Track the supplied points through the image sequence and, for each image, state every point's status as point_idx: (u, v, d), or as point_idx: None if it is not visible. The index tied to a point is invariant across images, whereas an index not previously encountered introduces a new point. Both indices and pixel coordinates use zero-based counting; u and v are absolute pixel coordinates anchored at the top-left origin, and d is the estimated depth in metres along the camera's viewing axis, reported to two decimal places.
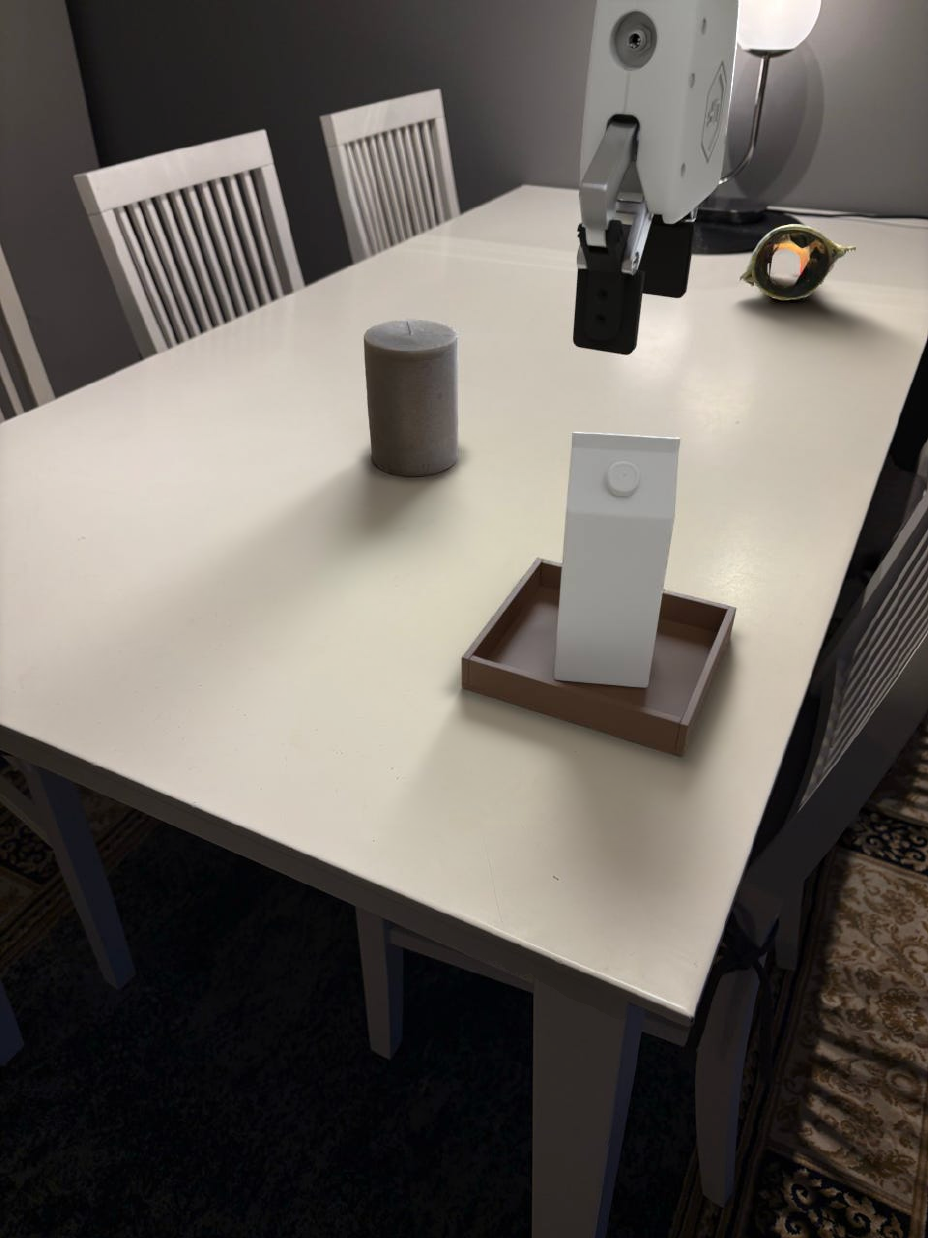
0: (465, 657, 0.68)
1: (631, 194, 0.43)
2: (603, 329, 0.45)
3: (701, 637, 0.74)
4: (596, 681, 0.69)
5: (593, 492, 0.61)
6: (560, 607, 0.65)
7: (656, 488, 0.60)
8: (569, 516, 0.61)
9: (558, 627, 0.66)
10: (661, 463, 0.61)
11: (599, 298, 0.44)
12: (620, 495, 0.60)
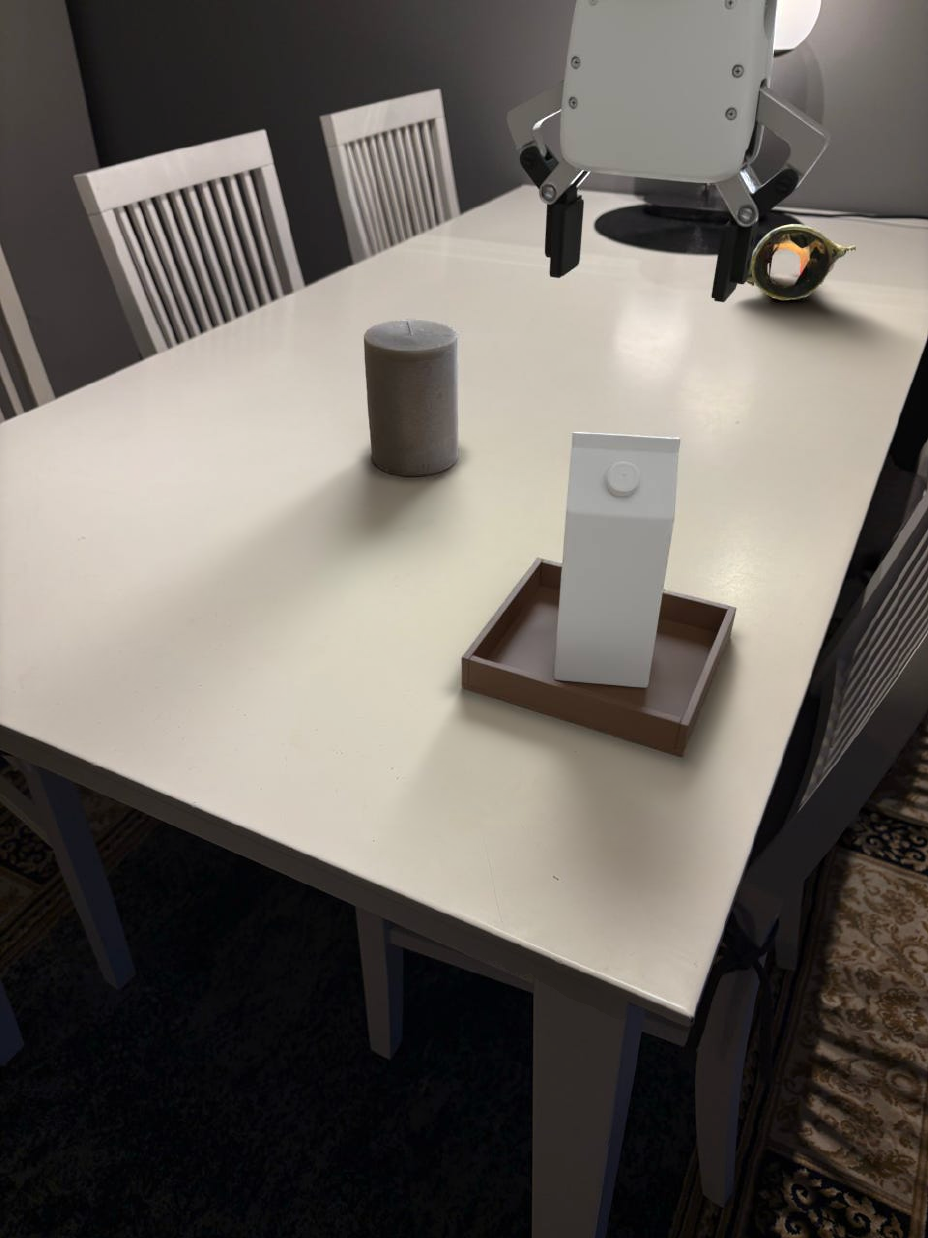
0: (465, 657, 0.68)
1: None
2: (747, 271, 0.50)
3: (701, 637, 0.74)
4: (596, 681, 0.69)
5: (593, 492, 0.61)
6: (560, 607, 0.65)
7: (656, 488, 0.60)
8: (569, 516, 0.61)
9: (558, 627, 0.66)
10: (661, 463, 0.61)
11: None
12: (620, 495, 0.60)
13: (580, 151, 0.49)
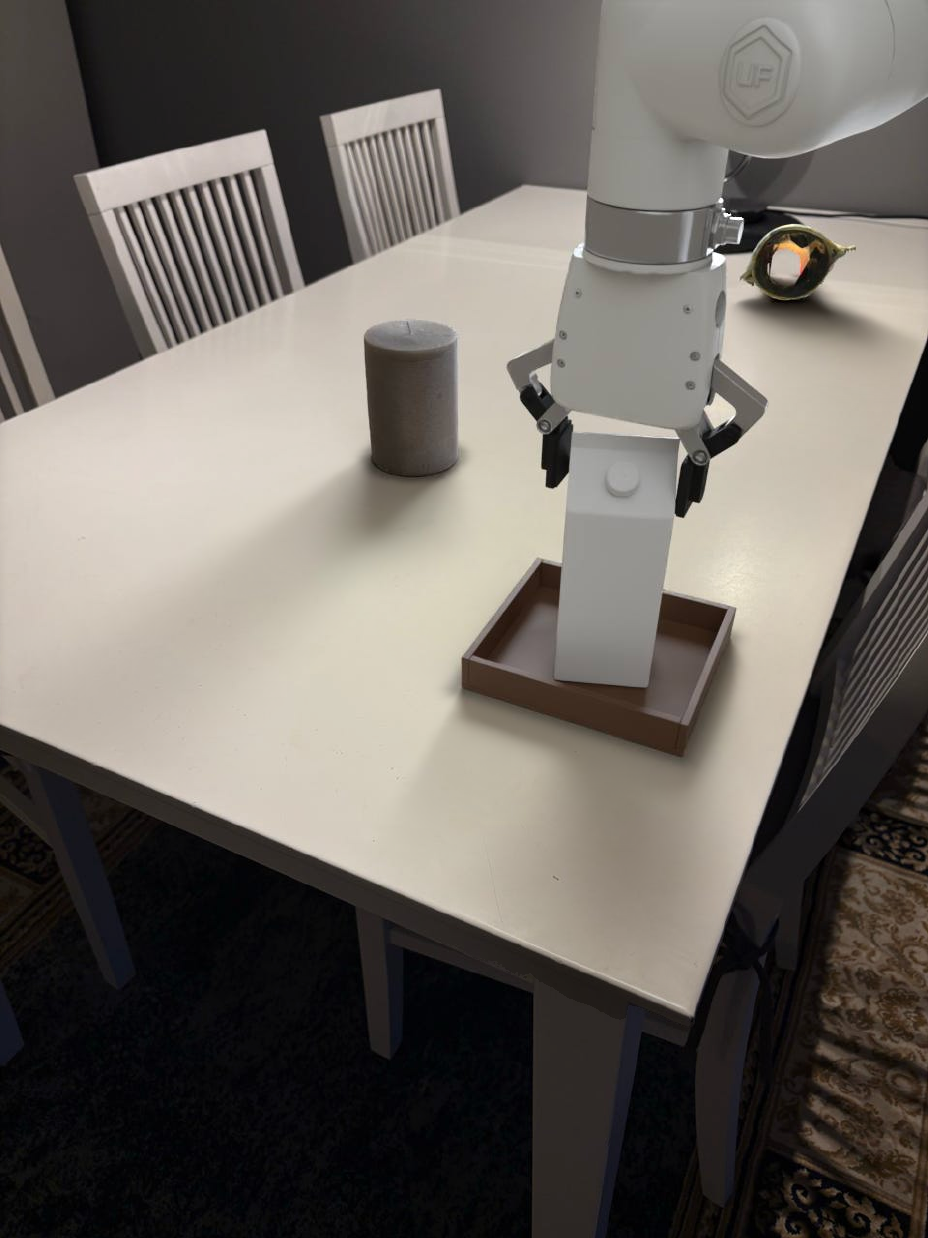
0: (465, 657, 0.68)
1: None
2: (702, 492, 0.60)
3: (701, 637, 0.74)
4: (596, 681, 0.69)
5: (593, 492, 0.61)
6: (560, 607, 0.65)
7: (656, 487, 0.60)
8: (569, 516, 0.61)
9: (558, 627, 0.66)
10: (661, 463, 0.61)
11: (704, 475, 0.59)
12: (620, 495, 0.60)
13: (567, 398, 0.59)
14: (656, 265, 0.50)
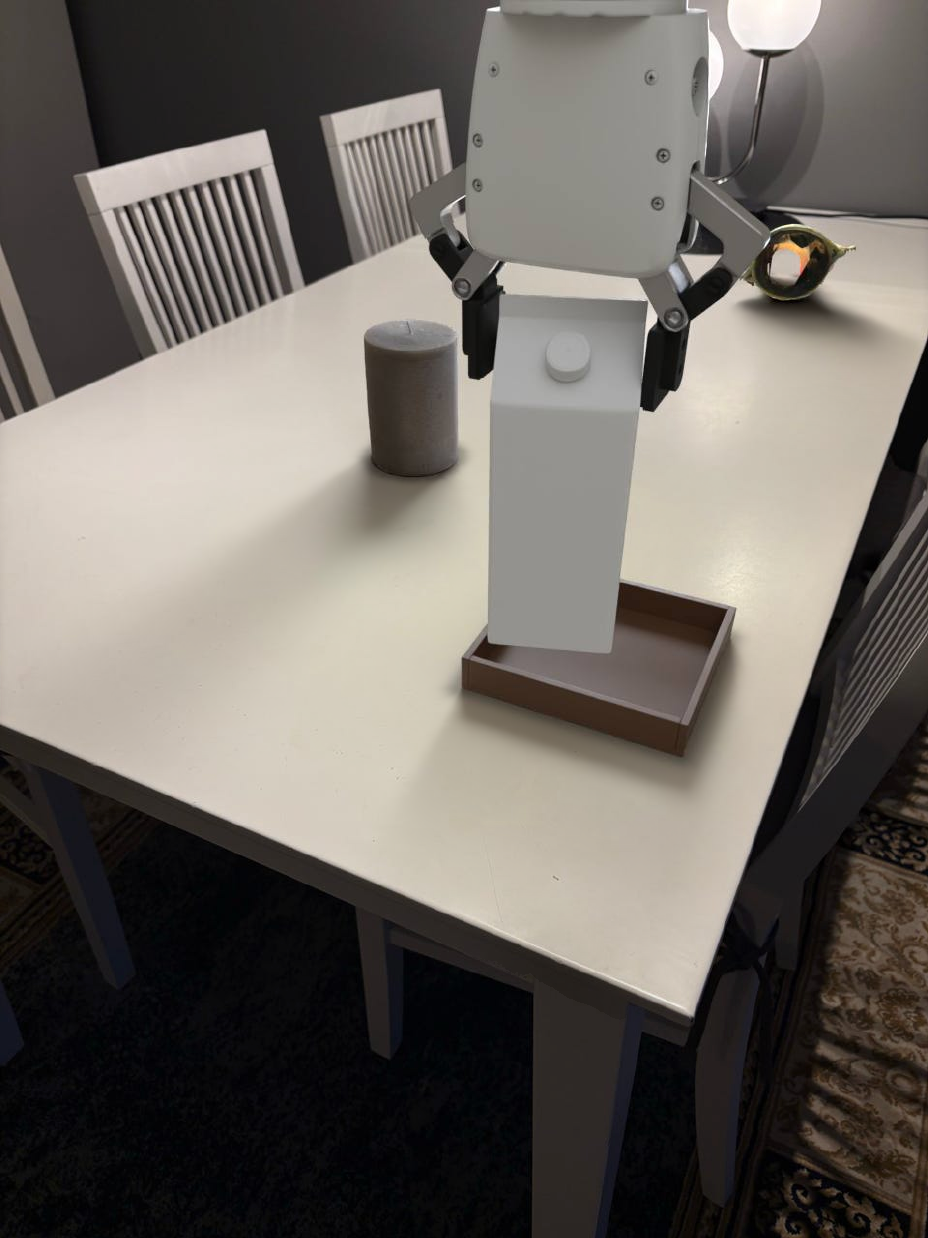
0: (465, 657, 0.68)
1: None
2: (680, 377, 0.44)
3: (701, 637, 0.74)
4: (543, 645, 0.52)
5: (528, 376, 0.44)
6: (490, 542, 0.48)
7: (615, 369, 0.43)
8: (495, 410, 0.44)
9: (489, 571, 0.50)
10: (622, 337, 0.44)
11: (681, 350, 0.43)
12: (564, 379, 0.43)
13: (489, 239, 0.42)
14: (601, 0, 0.33)
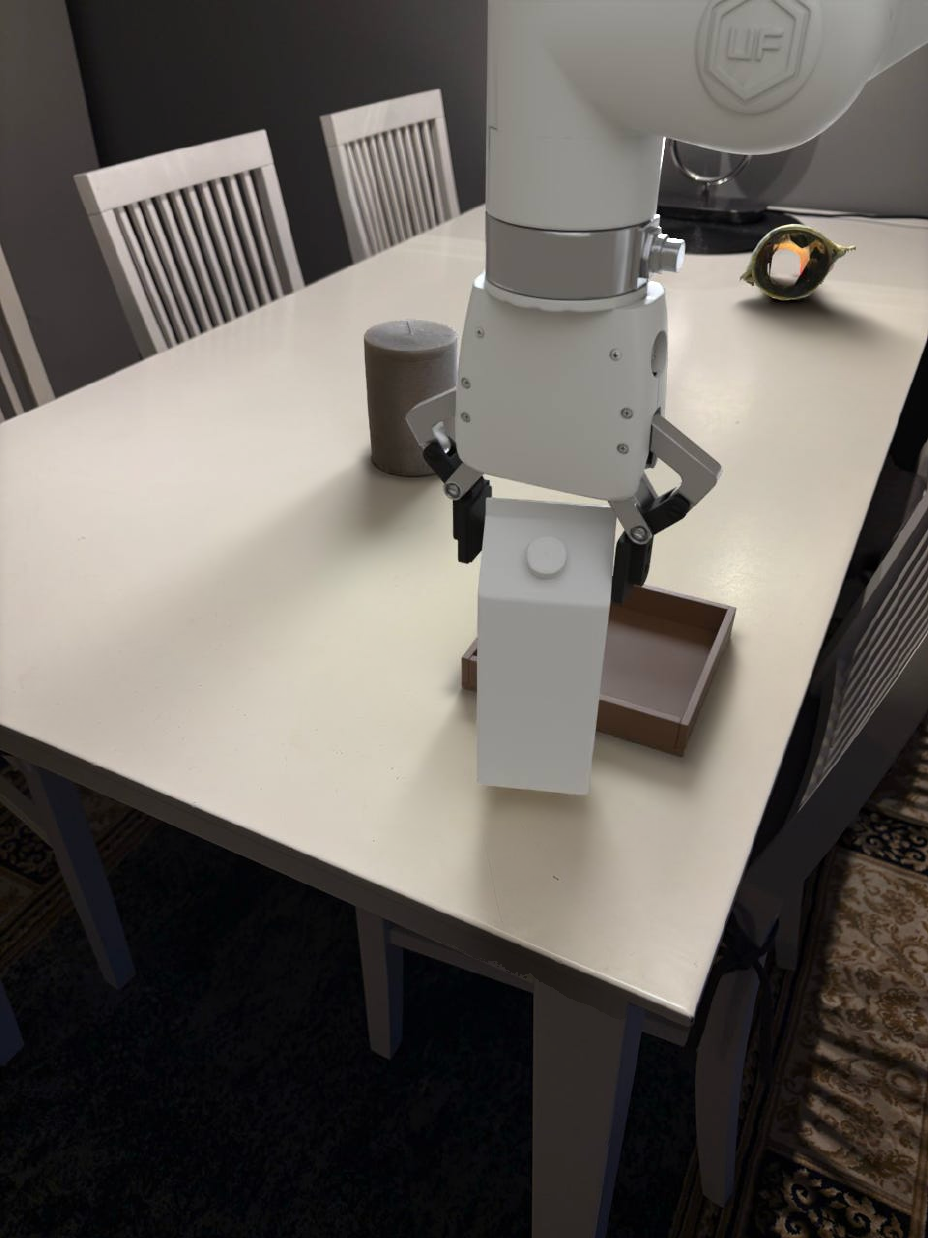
0: (465, 657, 0.68)
1: None
2: (646, 573, 0.49)
3: (701, 637, 0.74)
4: (526, 787, 0.57)
5: (511, 572, 0.49)
6: (478, 704, 0.54)
7: (588, 567, 0.49)
8: (482, 601, 0.49)
9: (477, 727, 0.55)
10: (595, 537, 0.49)
11: (646, 553, 0.48)
12: (543, 577, 0.49)
13: (476, 459, 0.47)
14: (571, 301, 0.39)
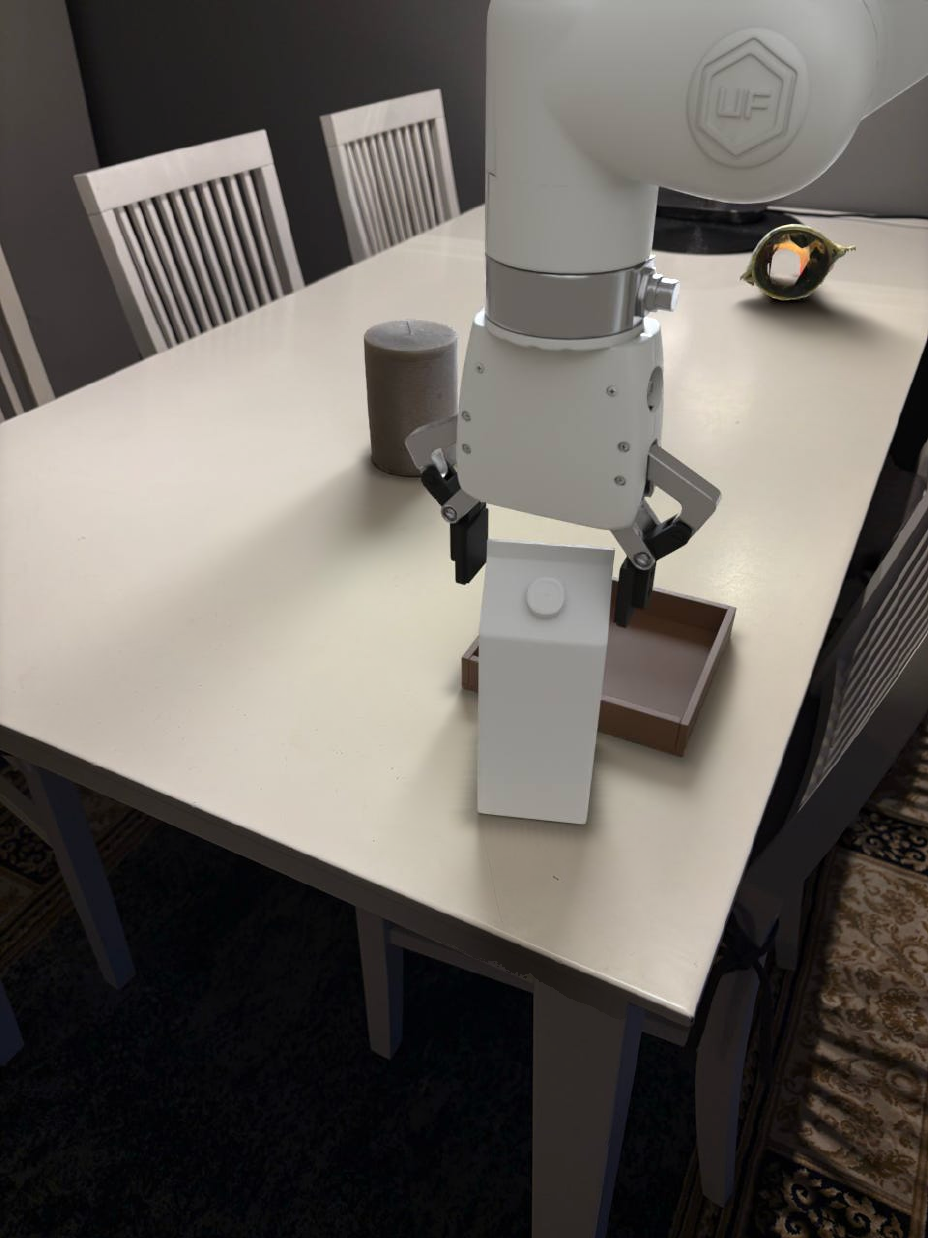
0: (465, 657, 0.68)
1: None
2: (649, 596, 0.50)
3: (701, 637, 0.74)
4: (526, 816, 0.59)
5: (511, 612, 0.51)
6: (479, 737, 0.55)
7: (586, 607, 0.50)
8: (483, 640, 0.51)
9: (478, 758, 0.57)
10: (593, 578, 0.51)
11: (649, 578, 0.49)
12: (542, 617, 0.50)
13: (476, 489, 0.48)
14: (568, 340, 0.40)
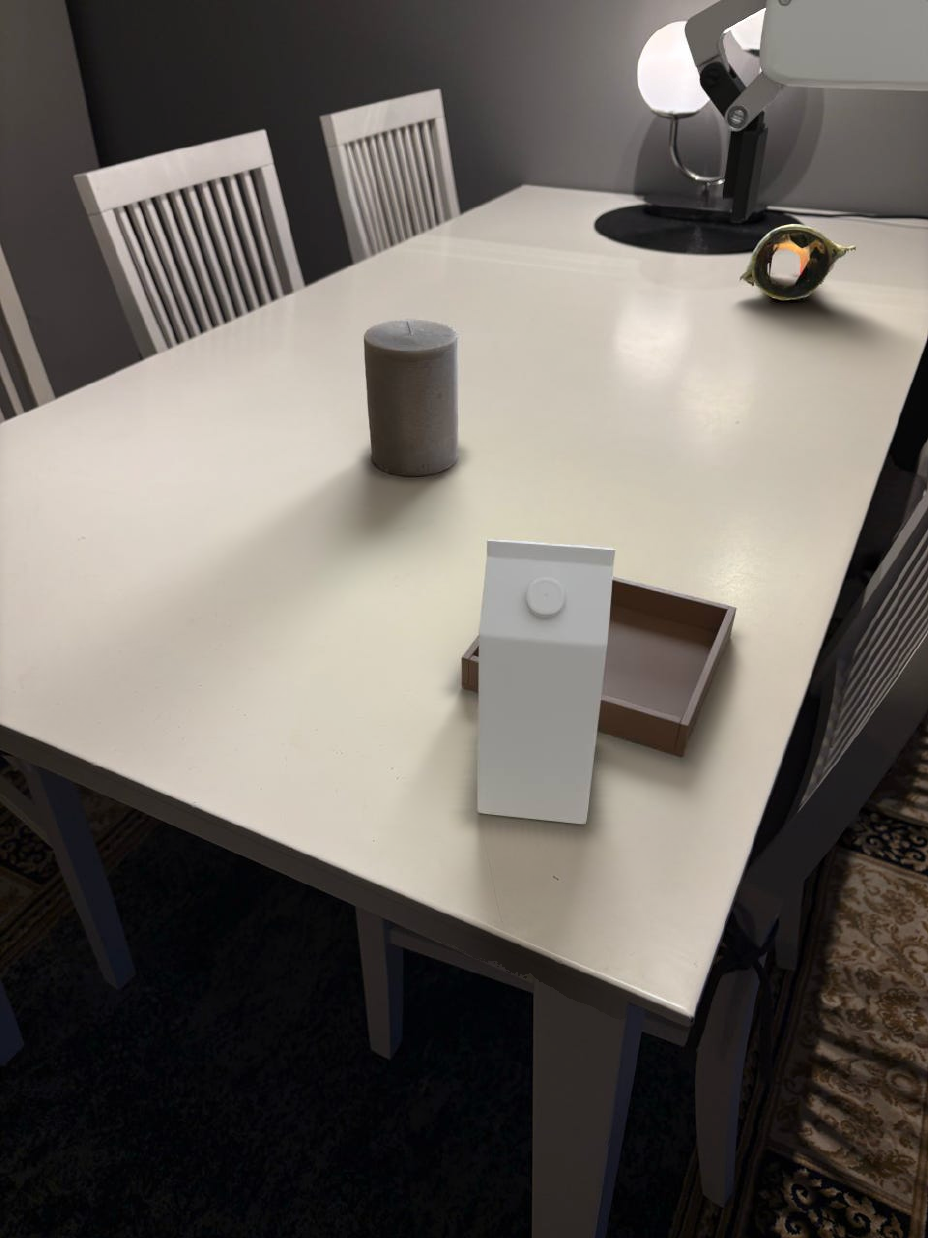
0: (465, 657, 0.68)
1: None
2: None
3: (701, 637, 0.74)
4: (526, 816, 0.59)
5: (511, 612, 0.51)
6: (479, 737, 0.55)
7: (586, 607, 0.50)
8: (483, 640, 0.51)
9: (478, 758, 0.57)
10: (593, 578, 0.51)
11: None
12: (542, 617, 0.50)
13: (789, 60, 0.40)
14: None
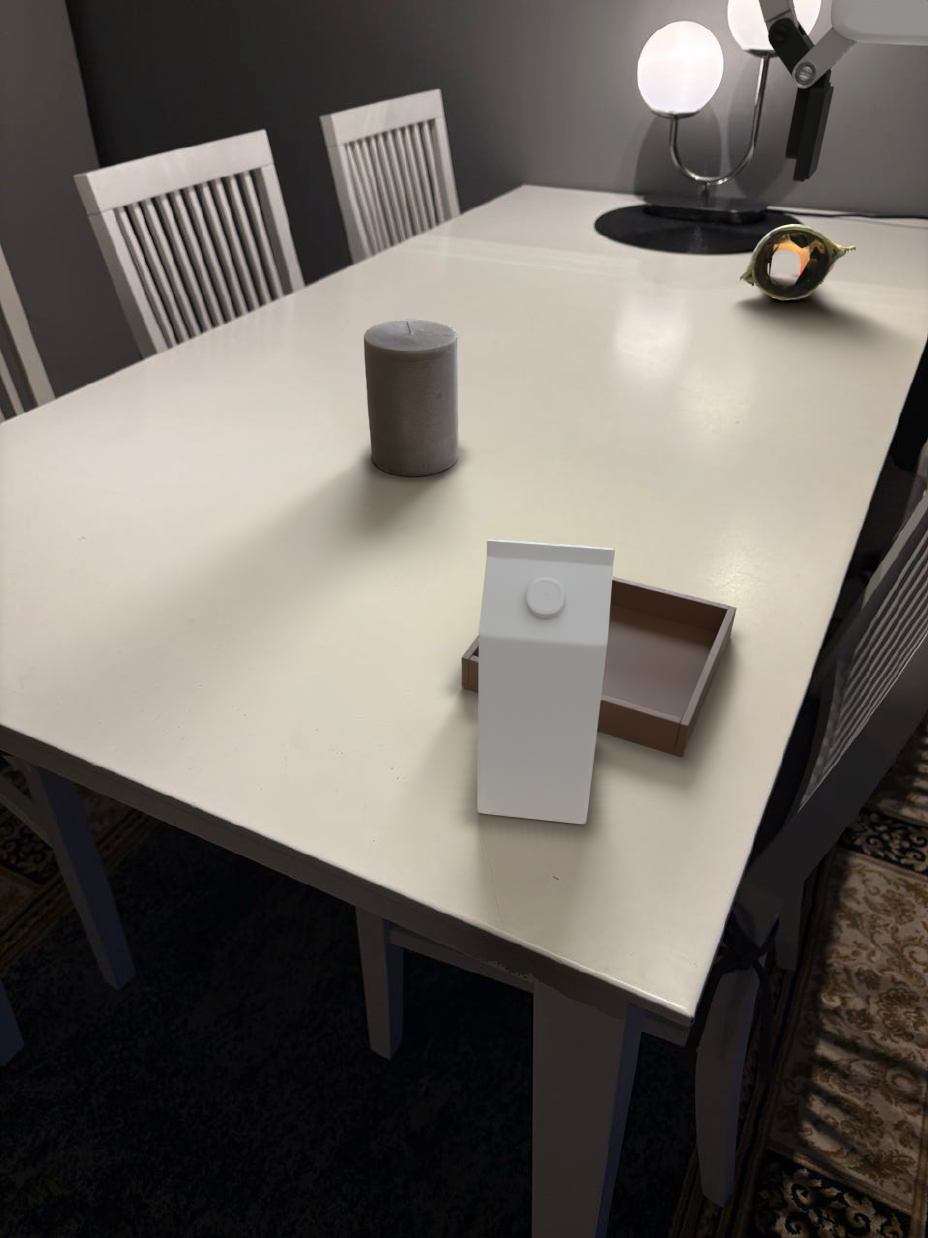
0: (465, 657, 0.68)
1: None
2: None
3: (701, 637, 0.74)
4: (526, 816, 0.59)
5: (511, 612, 0.51)
6: (479, 737, 0.55)
7: (586, 607, 0.50)
8: (483, 640, 0.51)
9: (478, 758, 0.57)
10: (593, 578, 0.51)
11: None
12: (542, 617, 0.50)
13: (861, 15, 0.40)
14: None
